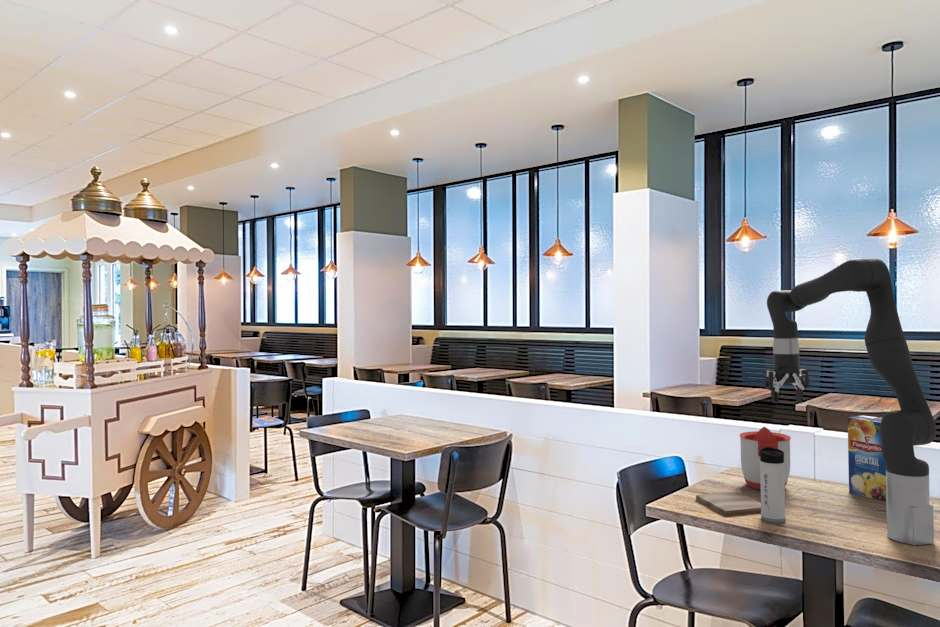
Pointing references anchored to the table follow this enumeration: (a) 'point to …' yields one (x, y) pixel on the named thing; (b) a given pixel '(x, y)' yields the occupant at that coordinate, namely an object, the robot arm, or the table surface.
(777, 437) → the citrus juicer
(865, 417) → the juice carton
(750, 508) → the walnut board
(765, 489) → the travel mug
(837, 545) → the table surface
